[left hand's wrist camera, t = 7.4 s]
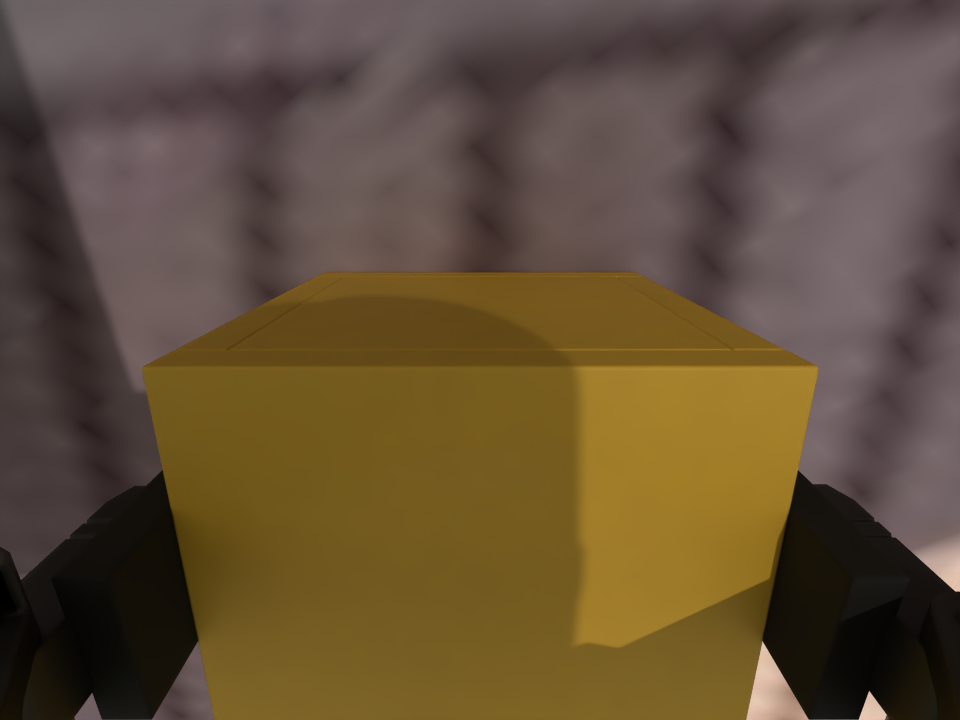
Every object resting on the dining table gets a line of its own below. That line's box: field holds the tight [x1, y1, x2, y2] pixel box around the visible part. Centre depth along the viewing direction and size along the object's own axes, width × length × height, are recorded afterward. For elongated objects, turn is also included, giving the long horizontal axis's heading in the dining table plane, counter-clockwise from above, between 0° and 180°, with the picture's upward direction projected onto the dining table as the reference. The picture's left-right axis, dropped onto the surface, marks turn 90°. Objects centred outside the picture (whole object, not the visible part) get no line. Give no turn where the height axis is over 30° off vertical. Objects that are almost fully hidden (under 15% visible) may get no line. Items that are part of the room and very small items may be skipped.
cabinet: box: [142, 272, 818, 720], centre depth 15 cm, size 17×10×9 cm, turn 0°
